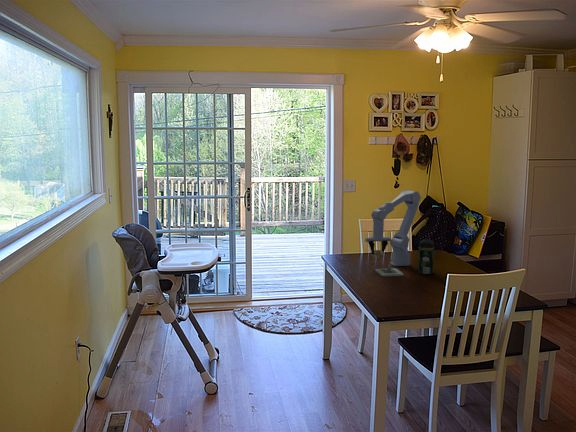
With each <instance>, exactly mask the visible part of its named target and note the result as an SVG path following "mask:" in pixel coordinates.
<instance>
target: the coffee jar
mask: <svg viewBox="0 0 576 432" xmlns="http://www.w3.org/2000/svg"><path fill="white" fill-rule="evenodd" d="M418 244H419V245H418V264H417V265H418V266H417V267H418V269H417V270H418V273H419V275H423V276H424V275H425V276H427V275H432V274H433V272H434V253H435V252H434V251H435V242H434V241H433V240H432V239H427V238H424V239H422V240H420V241H419V243H418Z"/></svg>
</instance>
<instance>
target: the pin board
mask: <svg viewBox="0 0 576 432" xmlns="http://www.w3.org/2000/svg"><path fill="white" fill-rule="evenodd" d="M375 272H376V273H378V275H380V276H381V277H403V276H404V275H405V274H404V273H403V272H402V271H400V269H399V268H395V267H394V268H392V264H391V263H389V264H388V265H387V268H375Z"/></svg>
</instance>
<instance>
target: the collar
mask: <svg viewBox="0 0 576 432" xmlns="http://www.w3.org/2000/svg"><path fill="white" fill-rule="evenodd" d="M384 254H385V251H384V252H383V251H381V249H374V254H372V253H371V256H372V257H373V258H384Z"/></svg>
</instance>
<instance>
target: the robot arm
mask: <svg viewBox="0 0 576 432" xmlns="http://www.w3.org/2000/svg"><path fill="white" fill-rule="evenodd" d="M420 201H421V194H420V192H419V191H415V190H414V191H413V190H408V189H404V190H403V191H401V192H400V194H399V195H398V196H397V197H395V198H394V199H393V200H392V201H386V202H385V203H384V204H382V205H381V206H380V207H378V208H375V209H374V210H372V213H371V214H370V215H371V217H372V221H373V225H372V226H373V227H372V237H365V239H364V241H365V242H366V243H368V246H369V248H370V251H371V255H372V254H374V250H375V242H381V248H380V250H381V251H383V252H384V253H385V251H386V248H387V246H388V245H389V244H390V247H391V249H392V261H389V264H390V265H391V266H394V267H401V266H402V267H406V266H410V260H411V257H410V256H411V255H410V251H409V249H408V247H409V242H410V238H409V236H408V235H409V232H410V229H411V227H412V224H413V221H414V219H415V217H416V214H417V212H418V209H419V204H420ZM402 203H404V204H405V205H406V207H407V209H406V212H405V214H404V217H403V219H402V221H401V224H400V227H399V229H398V232H395V234H394V235H393V237H392V238H391V237H388V236H384V228H385V227H384V225H385V224H384V222H385V220H386V219H387V216H388V215H389V214H390V213H392V212H393V211H394V210H395V207H397V206H399V205H400V204H402Z"/></svg>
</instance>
